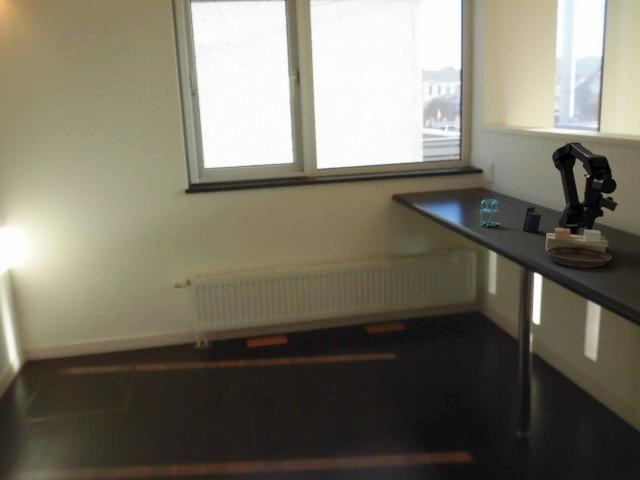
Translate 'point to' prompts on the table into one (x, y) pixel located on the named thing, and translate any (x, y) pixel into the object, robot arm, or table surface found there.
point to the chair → (489, 212)
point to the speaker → (532, 220)
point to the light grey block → (592, 235)
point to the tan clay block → (562, 233)
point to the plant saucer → (578, 257)
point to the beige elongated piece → (576, 242)
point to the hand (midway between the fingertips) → (589, 231)
